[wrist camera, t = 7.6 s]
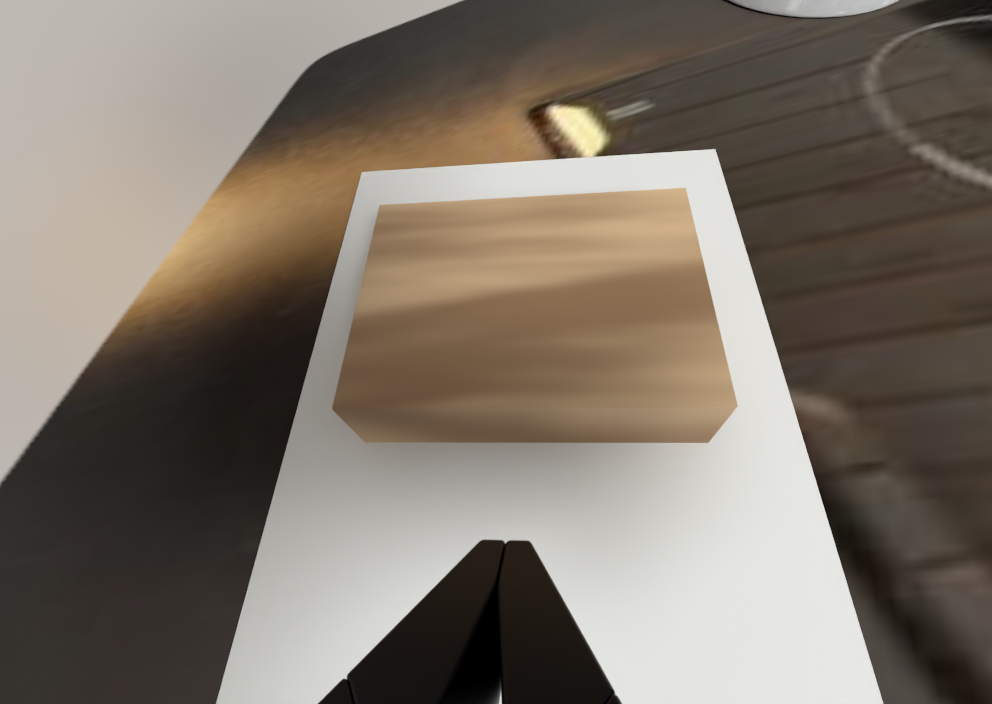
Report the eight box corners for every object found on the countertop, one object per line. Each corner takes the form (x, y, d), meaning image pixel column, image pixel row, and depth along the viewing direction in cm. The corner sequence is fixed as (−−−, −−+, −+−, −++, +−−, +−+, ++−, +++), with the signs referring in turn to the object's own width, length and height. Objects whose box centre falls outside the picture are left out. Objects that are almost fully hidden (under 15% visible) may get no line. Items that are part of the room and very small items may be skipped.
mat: (902, 805, 11) (916, 811, 11) (213, 750, 13) (202, 754, 13) (712, 158, 24) (715, 149, 23) (365, 179, 26) (361, 172, 25)
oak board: (738, 406, 13) (685, 187, 18) (331, 409, 15) (379, 205, 19) (708, 442, 16) (669, 243, 21) (365, 442, 17) (400, 255, 22)
